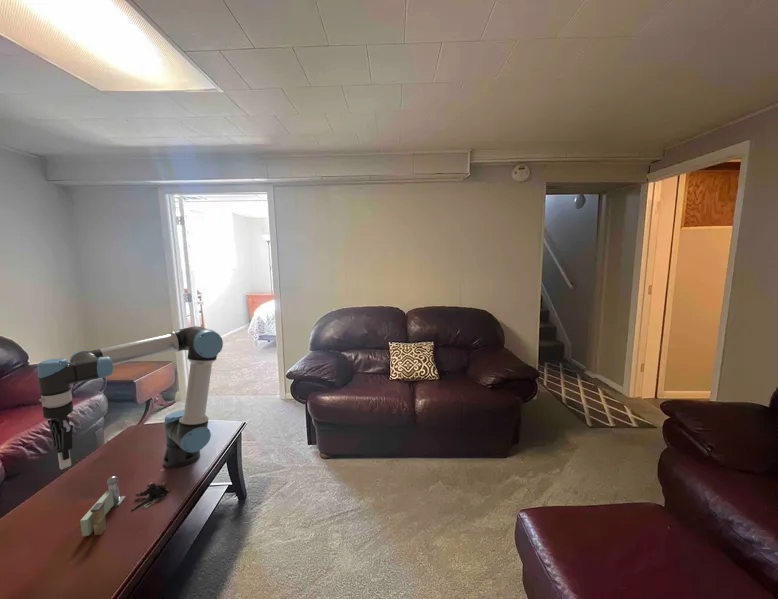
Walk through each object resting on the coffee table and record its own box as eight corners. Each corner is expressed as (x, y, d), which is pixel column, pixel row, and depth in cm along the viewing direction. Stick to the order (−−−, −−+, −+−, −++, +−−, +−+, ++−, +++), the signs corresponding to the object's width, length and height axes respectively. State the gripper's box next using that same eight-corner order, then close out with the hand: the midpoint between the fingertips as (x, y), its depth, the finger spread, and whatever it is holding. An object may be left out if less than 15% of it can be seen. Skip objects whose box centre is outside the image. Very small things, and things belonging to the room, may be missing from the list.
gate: (108, 505, 132) (106, 490, 131) (114, 504, 132) (112, 490, 132) (82, 536, 118) (80, 520, 117) (88, 535, 118) (86, 519, 117)
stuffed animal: (174, 480, 147) (164, 480, 137) (170, 506, 143) (159, 508, 132) (143, 483, 144) (130, 484, 134) (138, 510, 140) (125, 513, 130)
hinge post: (125, 497, 138) (123, 472, 136) (118, 506, 133) (116, 480, 131) (111, 499, 137) (108, 473, 135) (104, 508, 132) (101, 481, 130)
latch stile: (107, 527, 123) (104, 502, 122) (101, 534, 120) (98, 509, 118) (99, 528, 122) (96, 503, 121) (93, 535, 119) (90, 510, 118)
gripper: (34, 403, 118) (43, 467, 121) (51, 412, 112) (60, 478, 115) (63, 396, 124) (70, 456, 127) (80, 403, 118) (87, 466, 122)
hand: (65, 466), depth 121 cm, fingers closed
